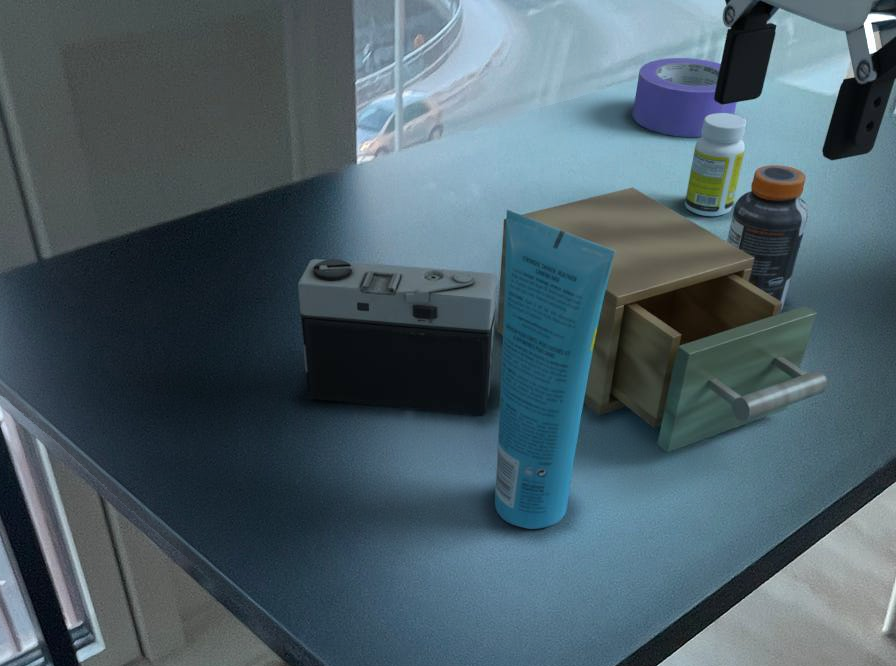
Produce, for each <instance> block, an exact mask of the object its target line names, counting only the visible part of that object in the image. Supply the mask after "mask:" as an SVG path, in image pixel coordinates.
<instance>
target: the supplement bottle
mask: <svg viewBox="0 0 896 666" xmlns="http://www.w3.org/2000/svg"><path fill="white" fill-rule="evenodd" d="M746 126H747V121H746V119H745V118H744V117H742V116H740V115H738V114H735V113H734V114H728V113H715V114H710V115H708V116H706V117H705V119H704V123H703V127H702V137H698V139H697V141H696V142H695V146H694V150H693V151H694V152H693V156H692V161H691V168H690V173H689V178H688V184H687V189H686V195H685V201H684V206H685V207H686V209H687V210H689V211H690V212H692V213H694V214H697V215H700V216H705V217H718V216H723V215H726V214H728V213H730V212H731V210H732V209H733V206H734V200H735V198H736V191H737V187H738V184H739V179H740V173H741V168H742V164H743V160H744V155H745V150H746V145H745V142H744V141H743V139H744V135H745V131H746Z"/></svg>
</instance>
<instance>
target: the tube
mask: <svg viewBox="0 0 896 666" xmlns="http://www.w3.org/2000/svg"><path fill="white" fill-rule="evenodd" d="M505 217H506V218H505V219H506V253H505V296H504V324H503V336H502V350H501V351H502V353H501V372H500V373H501V375H500V394H499V395H500V396H499V400H500V401H499V415H498V416H499V417H498V418H499V419H498V434H497V435H498V436H497V437H498V438H497V456H496V473H495V474H496V475H495V494H494V508H495V510H496V512H497V514H498V515H499V516H500V518H501V519H502V520H503V521H505V522H507V523H508V524H511V525H513V526H515V527H519V528H524V529H529V530H535V529H542V528H547V527H551V526H553V525H556V524H557V523H559V522H560V521H562V519H564V517H565V515H566V513H567V508H568V504H569V503H568V502H569V495H570V490H571V482H572V477H573V470H574V464H575V463H574V462H575V458H576V457H575V456H576V451H577V450H576V449H577V443H578V439H579V438H578V437H579V431H580V424H581V419H582V414H583V408H584V403H583V402H584V396H585V390H586V385H587V379H588V374H589V368H590V363H591V358H592V352H593V347H594V342H595V337H596V332H597V327H598V322H599V317H600V313H601V308H602V303H603V299H604V294H605V290H606V286H607V282H608V279H609V275H610V271H611V267H612V262H613V258H614V256H615V253H616V251H615V250H613V249H610V248H607V247H604V246H602V245H599V244H596V243H593V242H591V241H588V240H585V239H583V238H580V237H577V236H574V235H572V234H569V233H567V232H563V231H561V230H559V229H557V228H554V227H551V226H549V225H546V224H544V223H542V222H539V221H537V220H534V219H531V218H529V217H525V216H523V215H522V214H519V213H518V212H514V211H513V210H510V209H507V210H506V216H505Z"/></svg>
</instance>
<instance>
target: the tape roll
mask: <svg viewBox="0 0 896 666" xmlns="http://www.w3.org/2000/svg"><path fill="white" fill-rule="evenodd" d="M720 65H721V62H720V63H719V62H715V61H712V60H706V59H699V58H693V57H691V58H690V57H670V58H661V59H656V60H652V61H649V62H647V63H645V64H643V65H642V66H641V67H640V68H639V72H638V78H637V84H636V90H635V96H634V103H633V109H632V118H633V120H634V121H635V122H636V123H637V124H638V125H640V126H641V127H643V128H645V129H647V130H649V131H653V132H655V133H659V134H663V135H667V136H673V137H683V138H700V137H702V127H703V123H704V119H705V117H706V116H708V115H710V114H715V113H728V114H734V115H735V112H736V107H737V104H738V102H735V103H729V104H723V105H722V104H720V103H718V102H716V101H715V100H714V95H715V90H716V85H717V80H718V75H719V70H720Z"/></svg>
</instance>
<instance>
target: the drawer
mask: <svg viewBox="0 0 896 666" xmlns="http://www.w3.org/2000/svg"><path fill="white" fill-rule="evenodd" d="M782 304H783V303H782V302H781V301H779V300H777V299H776V298H774V297H772V296H771V295H769V294H767V293H766V292H764V291H762V290H761V289H759V288H757V287H756V286H754V285H752V284H751V283H749V282H747V281H746V280H744V279H742V278H741V277H739V276H737V275H736V274H734V273H731V274H728V275H725V276H721V277H718V278H714V279H711V280H708V281H704V282H701V283H697V284H694V285H691V286H687V287H684V288H680V289H677V290H674V291H670V292H667V293H663V294H660V295H656V296H653V297H650V298H646V299H643V300H639V301H636V302H633V303H629V304H626V305H624V310H623V316H622V322H621V328H620V335H619V341H618V347H617V353H616V360H615V366H614V372H613V378H612V385H611V391H610V393H611V394H612V395H613V396H614V397H616V398H617V399H618V400H619V401H621V402H622V403H623V404H625V405H626V407H627V408H628V409H629V410H630V411H632V412H633V413H634V414H636V415H637V416H638V417H640V418H641V419H642V420H643V421H645V422H646V423H647V424H649V425H650V426H651V428H653V429H655V428H659V427H660V430H659V434H658V439H657V445H658V446H660V447H661V448H662V449H663V450H664V451H666V452H667V453H669V452H672V451H674V450H677V449H680V448H683V447H686V446H689V445H692V444H694V443H697V442H700V441H702V440H705V439H708V438H710V437H713V436H717V435H719V434H722V433H724V432H728V431H730V430H733V429H736V428H738V427H741V426H743V425H746V424H750V423H752V422H755V421H758V420H760V419H763V418H765V417H768V416H771V415H774V414H777V413H780V412H782V411H785V410H787V409H788V407H789V406H791V405H793V404H795V403H799V402H801V401H804V400H806V399H810V398H813V397H815V396H818V395H821V394H823V393H824V392H825V391H826V390H827V387H828V379H827V377H826V375H825V374H824V373H823V372H822V371H821V370H813V371H810V372H807V371H806V370H804V369H802V368H801V365H802V361H803V359H804V355H805V352H806V350H807V346H808V343H809V340H810V336H811V332H812V330H813V326H814V323H815V319H816V317H817V312H816V311H814V310H812V309H811V308H809V307H808V306H806V305H802V306H800V307H799V306H798V307H796V308H794V309H793V308H792V309H791V310H788V311H784V312H781V311H782V310H781V308H782ZM782 309H783V308H782Z"/></svg>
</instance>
